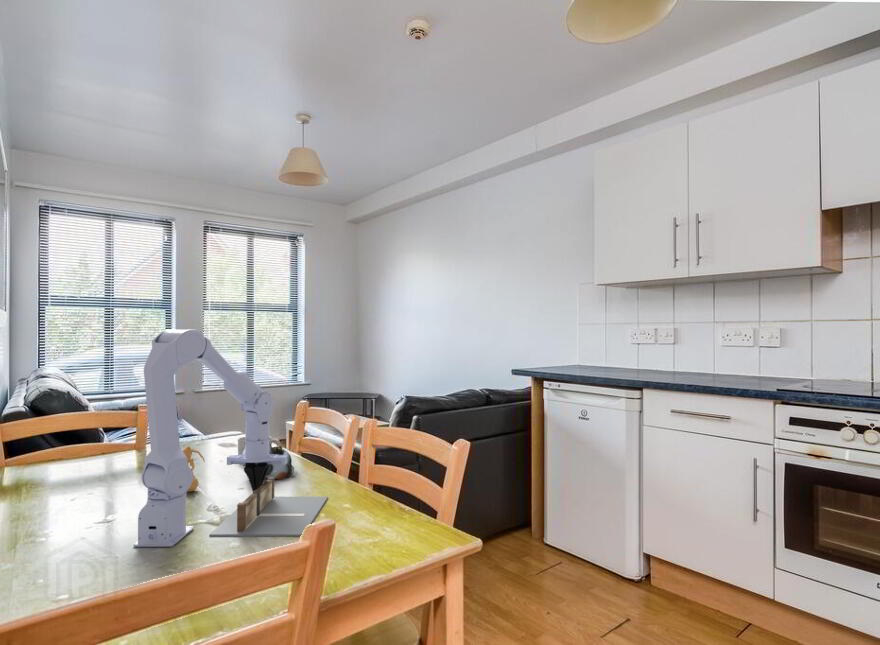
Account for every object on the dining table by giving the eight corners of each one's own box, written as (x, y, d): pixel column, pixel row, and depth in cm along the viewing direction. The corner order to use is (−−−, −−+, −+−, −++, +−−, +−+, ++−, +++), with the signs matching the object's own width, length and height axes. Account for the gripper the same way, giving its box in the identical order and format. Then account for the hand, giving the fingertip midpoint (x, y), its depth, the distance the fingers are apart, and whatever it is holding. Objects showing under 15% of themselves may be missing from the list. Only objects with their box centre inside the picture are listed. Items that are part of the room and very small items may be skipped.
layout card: (303, 536, 107) (303, 533, 107) (209, 536, 107) (209, 533, 107) (327, 498, 131) (327, 496, 131) (250, 498, 131) (250, 496, 131)
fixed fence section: (244, 531, 109) (244, 504, 109) (236, 531, 108) (236, 504, 109) (260, 513, 119) (260, 489, 119) (253, 513, 119) (254, 489, 119)
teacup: (230, 464, 164) (230, 439, 164) (251, 455, 174) (251, 432, 174) (266, 467, 160) (266, 442, 160) (286, 459, 170) (286, 435, 170)
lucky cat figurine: (295, 479, 147) (275, 441, 142) (255, 498, 145) (233, 460, 140) (294, 453, 161) (275, 417, 155) (257, 469, 159) (237, 434, 153)
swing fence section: (260, 511, 119) (260, 489, 119) (254, 511, 119) (254, 489, 119) (274, 497, 129) (274, 477, 129) (268, 497, 129) (268, 477, 129)
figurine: (175, 496, 132) (176, 451, 132) (168, 491, 136) (169, 447, 136) (208, 489, 138) (209, 445, 138) (201, 484, 142) (201, 442, 142)
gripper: (291, 435, 130) (290, 487, 130) (234, 435, 130) (234, 487, 130) (282, 441, 123) (282, 497, 123) (223, 441, 123) (222, 497, 123)
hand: (257, 493), depth 126 cm, fingers closed
